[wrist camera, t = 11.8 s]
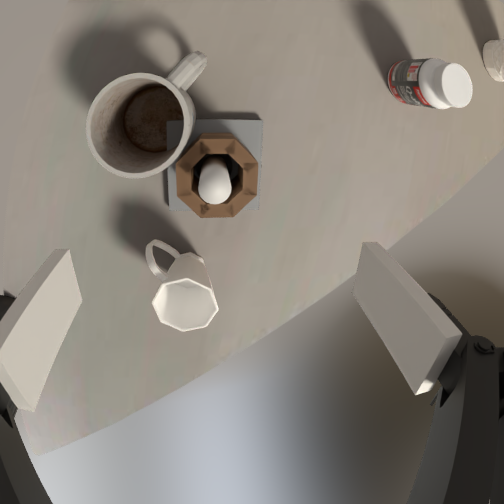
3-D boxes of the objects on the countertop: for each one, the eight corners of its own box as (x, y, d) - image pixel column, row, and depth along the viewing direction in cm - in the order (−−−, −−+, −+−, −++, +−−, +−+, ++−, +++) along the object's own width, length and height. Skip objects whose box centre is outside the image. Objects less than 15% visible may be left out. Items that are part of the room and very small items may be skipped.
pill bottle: (381, 93, 31) (431, 97, 22) (391, 53, 29) (442, 46, 20) (416, 111, 32) (469, 121, 24) (426, 73, 30) (479, 74, 21)
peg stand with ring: (170, 208, 35) (157, 246, 26) (167, 120, 30) (149, 128, 21) (257, 206, 36) (273, 244, 27) (261, 120, 31) (281, 127, 23)
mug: (153, 172, 33) (133, 199, 24) (104, 119, 29) (67, 127, 21) (239, 100, 31) (250, 99, 22) (189, 43, 27) (180, 21, 18)
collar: (183, 198, 33) (177, 218, 28) (182, 133, 30) (175, 140, 25) (248, 197, 34) (255, 217, 29) (251, 132, 31) (259, 139, 26)
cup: (185, 299, 41) (182, 341, 34) (133, 246, 36) (117, 282, 29) (228, 271, 40) (232, 311, 32) (176, 212, 35) (168, 242, 28)
